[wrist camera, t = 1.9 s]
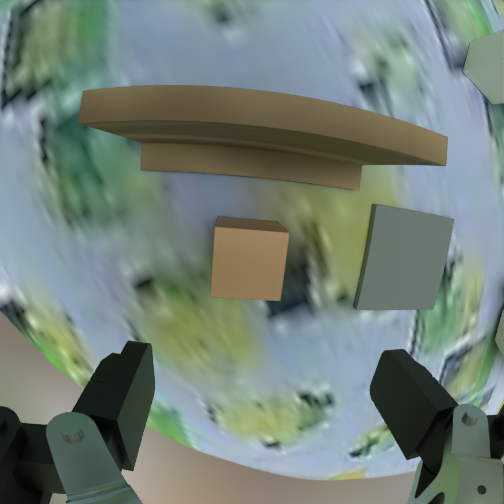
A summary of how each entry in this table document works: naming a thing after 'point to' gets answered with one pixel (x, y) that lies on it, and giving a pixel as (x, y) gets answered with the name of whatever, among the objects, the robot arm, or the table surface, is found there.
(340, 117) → the walnut screen
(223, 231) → the letter cube
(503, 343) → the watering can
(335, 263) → the table surface
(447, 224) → the slate pad
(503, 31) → the milk
